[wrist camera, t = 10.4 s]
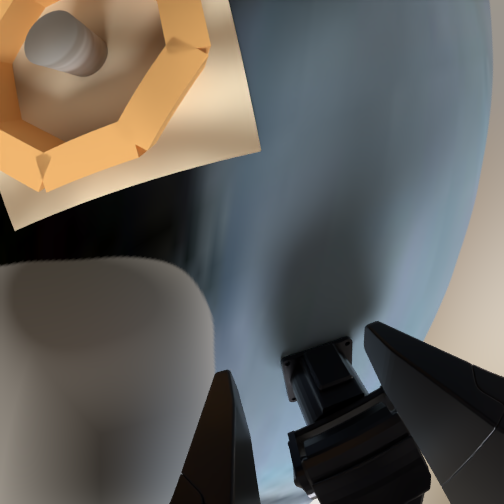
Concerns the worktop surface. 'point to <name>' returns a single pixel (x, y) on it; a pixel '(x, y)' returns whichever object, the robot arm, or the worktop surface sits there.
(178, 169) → the hook stand
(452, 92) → the worktop surface
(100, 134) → the orange octagonal ring
